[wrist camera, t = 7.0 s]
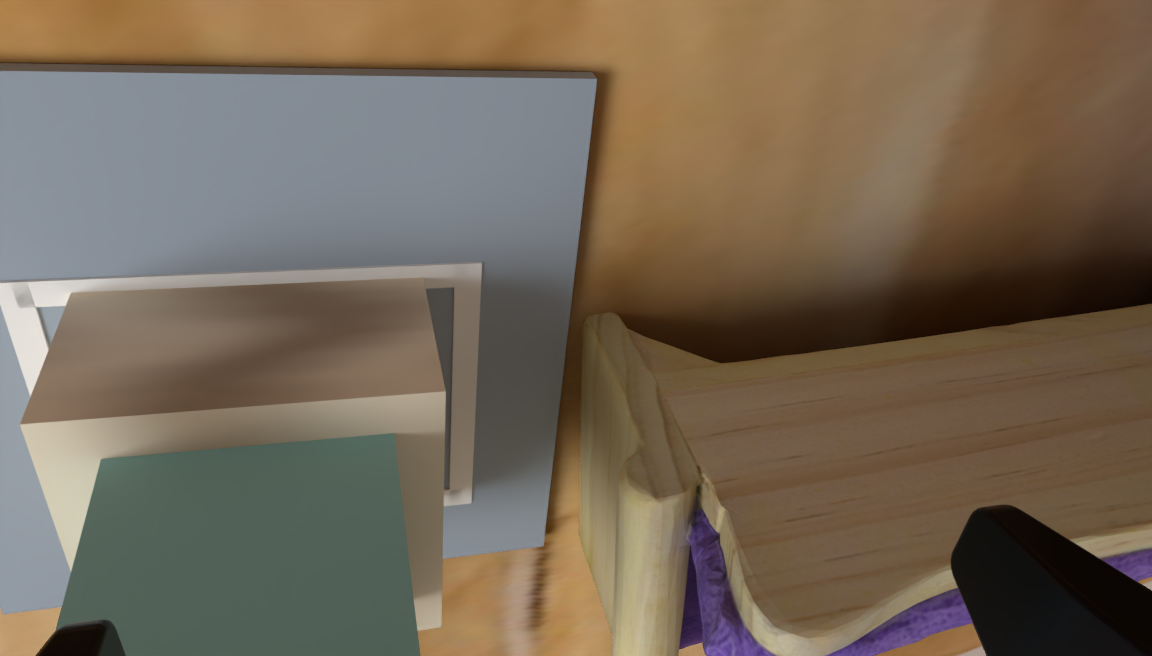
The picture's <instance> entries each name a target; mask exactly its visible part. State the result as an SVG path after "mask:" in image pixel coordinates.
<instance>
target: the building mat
mask: <svg viewBox="0 0 1152 656" xmlns="http://www.w3.org/2000/svg"><path fill="white" fill-rule="evenodd" d="M596 85H597V78H596V77H595V75H594V74H593V72H554V71H489V70H424V69H359V68H294V67H229V66H164V65H98V64H33V63H0V608H1V610H2V613H3V614H9V613H17V612H25V611H33V610H41V609H49V608H56V607H62V604H63V601H64V597H65V593H66V589H67V586H68V582H69V578H70V574H71V571H70V568H69V565H68V562H67V560H66V557H65V554H64V551H63V548H62V545H61V542H60V539H59V536H58V534H57V531H56V528H55V525H54V522H53V519H52V516H51V513H50V510H49V508H48V505H47V502H46V499H45V496H44V493H43V490H42V487H41V484H40V482H39V479H38V476H37V473H36V470H35V467H34V464H33V461H32V458H31V456H30V453H29V450H28V447H27V444H26V441H25V438H24V435H23V432H22V430H21V427H20V423H21V420H22V417H23V415H24V412H25V410H26V407H27V404H28V402H29V399H30V397H31V394H32V392H33V389H34V386H35V384H36V381H37V379H38V376H39V374H40V371H41V368H42V366H43V363H44V361H45V358H46V355H47V353H48V350H49V348H50V345H51V343H52V340H53V337H54V335H55V332H56V330H57V327H58V325H59V322H60V319H61V317H62V314H63V312H64V309H65V307H66V304H67V301H68V299H69V296H70V294H71V293H82V292H105V291H127V290H150V289H172V288H195V287H217V286H240V285H262V284H285V283H307V282H330V281H352V280H375V279H397V278H420V277H423V279H424V284H425V289H426V294H427V299H428V304H429V310H430V315H431V320H432V325H433V330H434V335H435V340H436V345H437V350H438V355H439V360H440V365H441V370H442V375H443V380H444V385H445V390H446V406H445V458H444V511H443V559H445V558H453V557H461V556H469V555H477V554H485V553H493V552H501V551H509V550H517V549H525V548H533V547H541V546H543V545H544V536H545V528H546V519H547V510H548V502H549V493H550V484H551V476H552V467H553V458H554V450H555V441H556V432H557V424H558V415H559V406H560V398H561V389H562V380H563V372H564V363H565V354H566V346H567V337H568V328H569V320H570V311H571V302H572V294H573V285H574V276H575V268H576V259H577V250H578V242H579V233H580V224H581V216H582V207H583V198H584V190H585V181H586V172H587V164H588V155H589V146H590V137H591V129H592V120H593V111H594V103H595V94H596Z"/></svg>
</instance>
